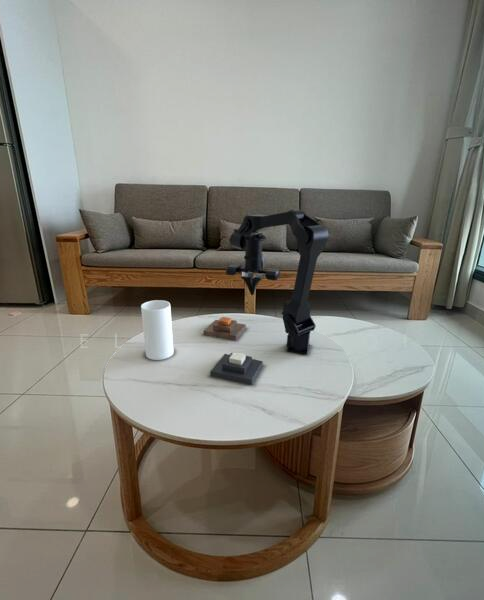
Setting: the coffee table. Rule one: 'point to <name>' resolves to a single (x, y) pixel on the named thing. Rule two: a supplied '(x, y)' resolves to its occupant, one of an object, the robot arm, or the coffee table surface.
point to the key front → (237, 358)
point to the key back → (225, 321)
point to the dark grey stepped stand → (237, 370)
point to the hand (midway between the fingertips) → (252, 294)
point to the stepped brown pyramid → (225, 330)
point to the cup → (157, 329)
